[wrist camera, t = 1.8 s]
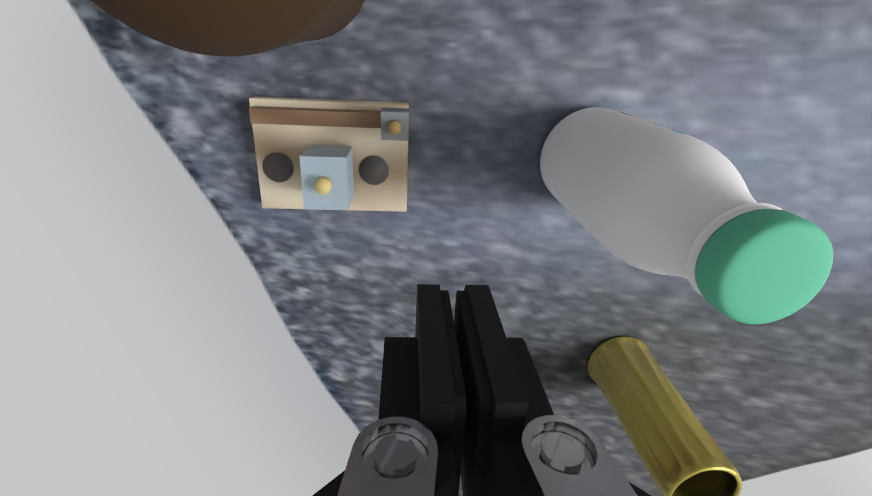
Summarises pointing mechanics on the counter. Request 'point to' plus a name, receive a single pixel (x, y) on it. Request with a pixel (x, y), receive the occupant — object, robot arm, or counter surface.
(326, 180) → the blue block with knob
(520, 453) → the robot arm
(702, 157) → the milk bottle
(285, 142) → the board
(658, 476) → the vase
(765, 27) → the counter surface
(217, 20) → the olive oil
